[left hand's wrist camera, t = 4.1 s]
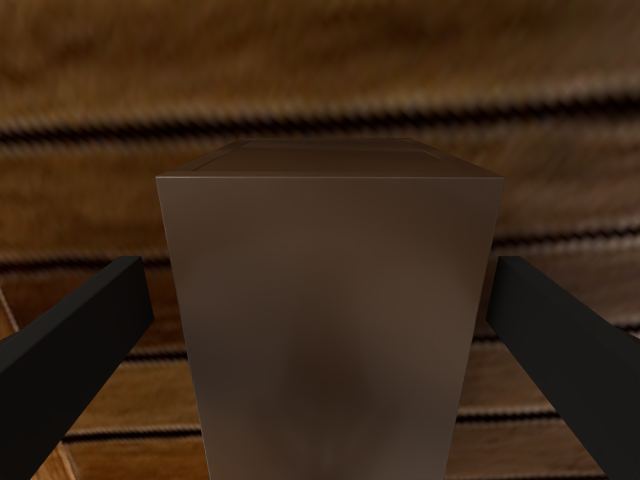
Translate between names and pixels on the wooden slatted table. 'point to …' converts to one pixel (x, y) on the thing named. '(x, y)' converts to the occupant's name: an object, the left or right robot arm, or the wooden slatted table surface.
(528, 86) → the wooden slatted table surface
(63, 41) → the wooden slatted table surface
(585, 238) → the wooden slatted table surface
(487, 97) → the wooden slatted table surface
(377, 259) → the cabinet
